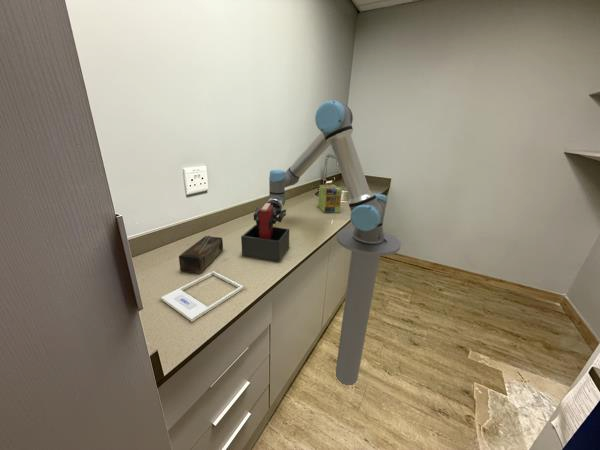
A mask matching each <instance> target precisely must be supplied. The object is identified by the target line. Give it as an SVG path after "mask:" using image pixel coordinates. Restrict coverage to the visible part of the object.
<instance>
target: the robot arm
mask: <svg viewBox="0 0 600 450" xmlns="http://www.w3.org/2000/svg"><path fill="white" fill-rule="evenodd" d="M314 121H315V122H314V123H315V126H316V127H317V129H318V130H319V131H320V132H319V133H317V135H316V136H315V137H314V139H313V140H312V141H311V142H310V143H309V144H308V145H307V147H305V149H303V151H302V152H301V153H300V155H298V157H297V158H296V159H295V160H294V161H293V162H292V164H291V165H290V166H289V167H288V168H287V170H283V169H271V170H270V171H269V176H268V181H269V184H268V185H269V186H268V187H269V195H268V196H269V197H268V198H269V199H268V200H267V202H266V203H271V205H273V216H272V217H271V219H270V221H269V229H271V227H272V225H273V226H274V225H276V223H277V222H278V223H282V221H283V219H284V218H285V217H286V216H287V209H283V207H284V205H285V203H286V196H285V195H286V194H285V192H286V190H285V189H286V188H287V187H291V186H294V185H296V184H298V183H299V181H300V178H301V177H302V176H303V175H304V173H306V172H307V170H308V169H309V168H310V167H311V166H312V165H313V164H314V163H315V162H316V161H317V160H318V159H319V158H320V157H321V156H322V155H323V153H324V152H325V151H326V150H327V149H328V148H329V147H330V146H331V149H332V151H333V154H334V157H335V160H336V163H337V165H338V168H339V171H340V172H341V177H342V179H343V182H344V185H345V187H346V190H347V192H348V196H349V201H348V206H349V210H350V217H349V219H350V222H351V224H352V226H354V232H353V235H352V237H353V239H354V240H356V241H357V242H360V243H363V244H368V245H378V244H382V243H383V242H384V241H385V242H387V241H386V240H385V239H384V233H383V231H384V228H383V225H384V219H385V214H386V208H387V203H388V196H387V195H385V194H381V193H374V192H372V191H371V190H370V187H369V184H368V182H367V177H366V176H365V172H364V169H363V167H362V164H361V161H360V158H359V155H358V152H357V148H356V147H355V146H356V145H355V144H354V141H353V140H354V139H353V138H352V134H353V131H354V128H353V125H352V124H353V121H354V116H353V112H352V110H351V108H350V107H349V106H348V105H346V104H344V103H341V102H340V101H338V100H327V101H324V102H322V103H321V104H320V105H319V107H318V108H317V110H316V113H315V117H314ZM255 208H256V209H255V211H254V213H253V221H255V223H256V224H255V225H257V228H259V210H260V208H259V207H255Z"/></svg>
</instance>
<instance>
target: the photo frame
mask: <svg viewBox="0 0 600 450" xmlns="http://www.w3.org/2000/svg"><path fill="white" fill-rule="evenodd" d="M212 276H215V277H217V278H219V279H220V280H223V281H224V282H226V283H228V284H229V285H232V286H234V287H236V289H234V290H232V291H231V292H229V293H228V294H226V295H224V296H222V297H221V298H219V299H218V300H217V301H215V302H213V303H211V304H210V305H208V306H207V305H206V304H204V303H202V302H201V301H199V300H198V299H196V298H194V297H193V296H191V295H190V294H188V293H186V292H185V290H187V289H189V288H191V287H192V286H194V285H197V284H198V283H200V282H202V281H204V280H206V279H208V278H210V277H212ZM242 290H244V285H242V284H240V283H238V282H236V281H234V280H232V279H230V278H228V277H226V276H224V275H223V274H220V273H218V272H216V271H214V270H213V271H210V272H209V273H207V274H205V275H202V276H201V277H199V278H197V279H195V280H192V281H191V282H188V283H187V284H184V285H183V286H181V287H179V288H177V289H174V290H173V291H171V292H168V293H166V294H164V295H163V296H161V297H160V298H161V299H160V300H161V301H162V302H164V303H165V304H166V305H168V306H169V307H171V308H172V309H173V310H175V311H176V312H178V313H179V314H180V315H182V316H183V317H184V318H186V319H187V320H189V321H190V322H191V323H193V322H194V321H196V320H198V319H199V318H201V317H202V316H204V315H205V314H207V313H208V312H210V311H211V310H213V309H214V308H216V307H218V306H219V305H221V304H222V303H224V302H225V301H227V300H228V299H230V298H232V297H233V296H234V295H236V294H238V293H239V292H241V291H242Z"/></svg>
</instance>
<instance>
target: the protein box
mask: <svg viewBox="0 0 600 450" xmlns="http://www.w3.org/2000/svg"><path fill="white" fill-rule="evenodd" d="M318 188H319V189H318V201H317V202H318V203H317V207H318V208H319V209H320V210H321V211H322V212H323V213H324V214H335V213H337V214H339V213H340V210H341V202H342V201H341V200H342V192H343V189H342V188H341V187H339V186H338V185H335V184H323V183H321V184H319V187H318Z"/></svg>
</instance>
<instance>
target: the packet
mask: <svg viewBox="0 0 600 450" xmlns="http://www.w3.org/2000/svg"><path fill="white" fill-rule="evenodd" d="M259 209H260V210H259V238H262V239H269V240H270V239H271V236H272V234H273V227H274V224H273V225H272V227H271V229H269V221H270V219H271V217H272V216H273V205H271V203H267V202H266V203H265V204H262V206H261V207H260V208H259Z"/></svg>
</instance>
